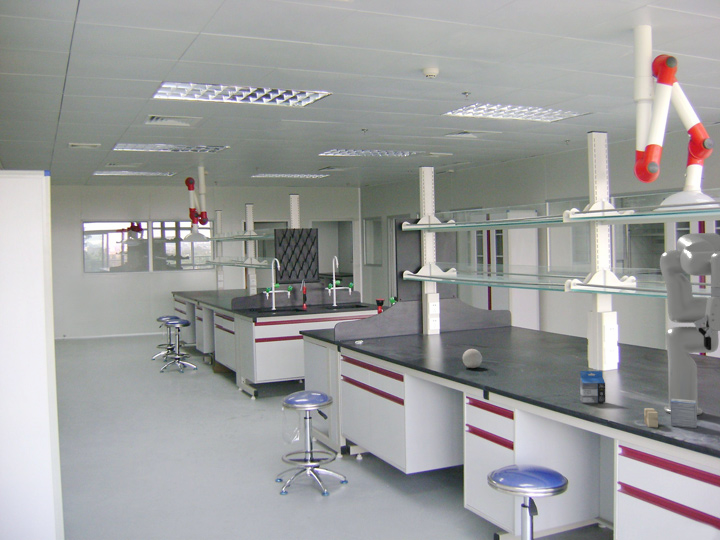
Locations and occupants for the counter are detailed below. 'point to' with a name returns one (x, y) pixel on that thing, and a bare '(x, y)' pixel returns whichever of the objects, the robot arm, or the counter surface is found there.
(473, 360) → the grey felt ball
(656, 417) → the bench stop
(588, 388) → the blue and grey box
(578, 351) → the counter surface
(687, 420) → the medicine box
